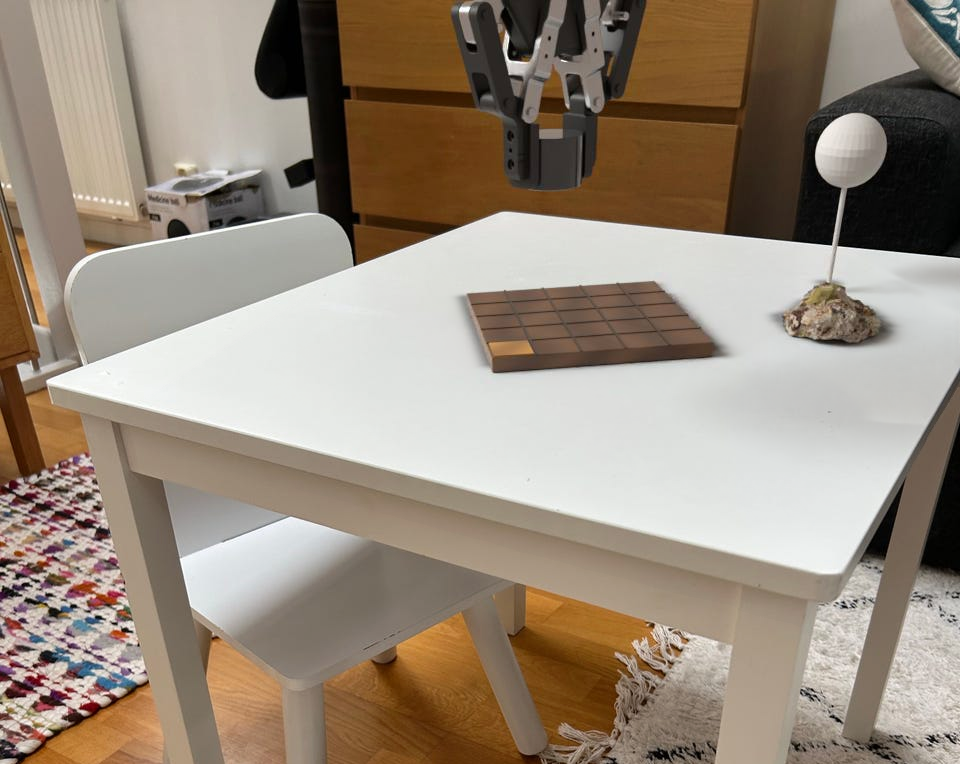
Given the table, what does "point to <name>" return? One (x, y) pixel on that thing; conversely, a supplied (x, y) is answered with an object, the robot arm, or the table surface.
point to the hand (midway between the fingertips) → (551, 180)
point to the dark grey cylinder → (560, 159)
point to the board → (583, 326)
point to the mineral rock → (831, 316)
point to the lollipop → (849, 159)
